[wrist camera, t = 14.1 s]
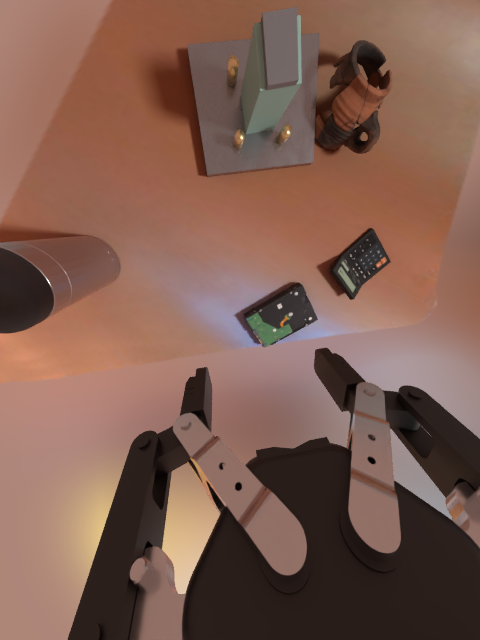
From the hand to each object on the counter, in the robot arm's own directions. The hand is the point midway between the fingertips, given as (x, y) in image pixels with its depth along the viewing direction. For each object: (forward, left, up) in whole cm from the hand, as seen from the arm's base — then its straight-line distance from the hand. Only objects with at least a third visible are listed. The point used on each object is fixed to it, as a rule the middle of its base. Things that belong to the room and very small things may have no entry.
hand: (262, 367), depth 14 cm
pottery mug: (+21, +22, -30) cm, 43 cm away
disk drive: (+10, -12, -31) cm, 34 cm away
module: (+7, +24, -29) cm, 38 cm away
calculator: (+28, -2, -31) cm, 41 cm away
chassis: (+7, +24, -30) cm, 39 cm away
